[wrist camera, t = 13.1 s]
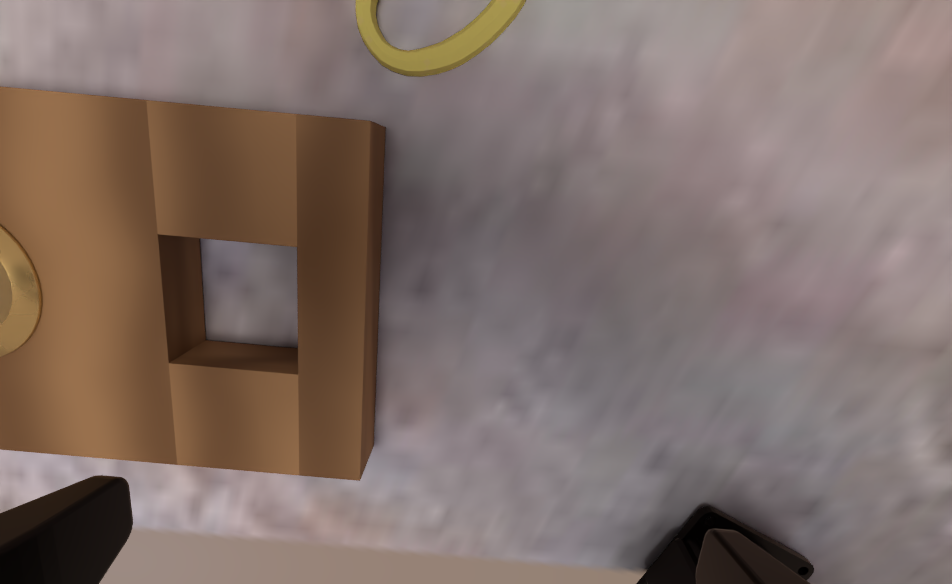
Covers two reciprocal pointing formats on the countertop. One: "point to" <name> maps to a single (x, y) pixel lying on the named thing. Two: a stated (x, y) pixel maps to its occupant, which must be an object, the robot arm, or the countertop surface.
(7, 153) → the walnut holder
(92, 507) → the robot arm
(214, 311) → the countertop surface
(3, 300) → the ivory candle
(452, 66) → the key
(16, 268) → the brass disc
